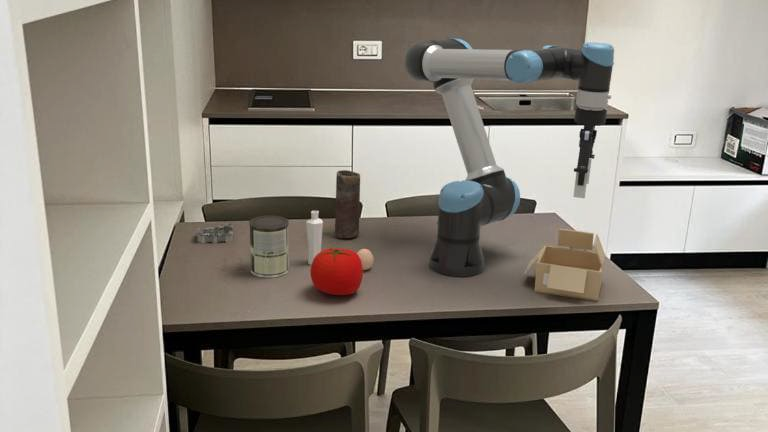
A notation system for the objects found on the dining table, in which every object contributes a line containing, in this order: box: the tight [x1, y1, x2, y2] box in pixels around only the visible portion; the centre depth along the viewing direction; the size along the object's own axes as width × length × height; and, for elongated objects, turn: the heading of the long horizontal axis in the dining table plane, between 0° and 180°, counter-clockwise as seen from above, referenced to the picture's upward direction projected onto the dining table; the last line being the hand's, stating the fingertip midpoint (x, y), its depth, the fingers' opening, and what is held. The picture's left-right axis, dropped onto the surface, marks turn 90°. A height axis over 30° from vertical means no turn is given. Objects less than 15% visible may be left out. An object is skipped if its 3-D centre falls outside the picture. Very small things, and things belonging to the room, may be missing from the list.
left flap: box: [523, 247, 544, 276], centre depth 210 cm, size 1×8×6 cm
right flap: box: [593, 233, 606, 266], centre depth 204 cm, size 1×8×6 cm, turn 159°
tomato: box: [310, 247, 364, 296], centre depth 200 cm, size 13×14×12 cm
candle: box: [334, 169, 361, 239], centre depth 238 cm, size 8×7×20 cm
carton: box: [533, 245, 606, 303], centre depth 208 cm, size 16×14×8 cm
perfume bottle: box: [305, 210, 324, 266], centre depth 217 cm, size 5×4×15 cm
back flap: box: [557, 227, 595, 251], centre depth 211 cm, size 9×1×6 cm, turn 71°
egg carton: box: [196, 222, 234, 244], centre depth 235 cm, size 11×8×4 cm
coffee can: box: [248, 214, 290, 279], centre depth 211 cm, size 10×10×14 cm
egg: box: [356, 248, 375, 271], centre depth 216 cm, size 5×5×6 cm
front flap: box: [547, 265, 587, 293], centre depth 200 cm, size 9×1×6 cm, turn 71°
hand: (581, 190), depth 201 cm, fingers open, 13 cm apart
